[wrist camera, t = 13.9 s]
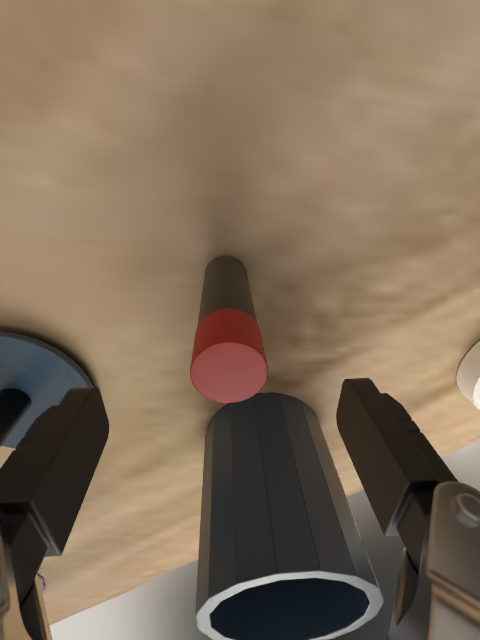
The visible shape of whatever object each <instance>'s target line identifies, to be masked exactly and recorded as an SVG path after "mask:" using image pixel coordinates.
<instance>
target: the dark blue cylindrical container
mask: <svg viewBox="0 0 480 640" xmlns="http://www.w3.org/2000/svg"><path fill="white" fill-rule="evenodd" d="M383 602H384V599H383V596H382V593H381V591H380V588H379V585H378V583H377V579H376V577H375V574H374V571H373V569H372V566H371V563H370V560H369V558H368V555H367V552H366V550H365V547H364V544H363V541H362V539H361V536H360V533H359V530H358V528H357V525H356V522H355V519H354V517H353V514H352V511H351V508H350V506H349V503H348V500H347V498H346V495H345V492H344V489H343V487H342V484H341V481H340V478H339V476H338V473H337V470H336V467H335V465H334V462H333V459H332V457H331V454H330V451H329V448H328V446H327V443H326V440H325V437H324V435H323V432H322V429H321V427H320V424H319V422H318V419H317V417H316V415H315V413H314V412H313V411H312V410H311V409H310V408H309V407H308V406H307V405H306V404H304V403H303V402H301V401H299V400H297V399H295V398H293V397H290V396H286V395H281V394H269V393H265V394H256V395H254V396H252V397H250V398H248V399H246V400H243V401H240V402H235V403H230V404H228V405H226V406H225V407H223V408H222V409H221V410H220V411H219V412H218V413H217V414H216V415H215V416H214V417H213V419H212V420H211V422H210V424H209V426H208V428H207V433H206V436H205V453H204V470H203V488H202V506H201V523H200V541H199V559H198V577H197V594H196V612H195V614H196V620H197V625H198V629H199V630H200V631H201V632H203V633H204V634H206V635H207V636H208V637H210V638H211V639H213V640H328V639H332V638H335V637H337V636H340V635H342V634H345V633H347V632H350V631H352V630H355V629H357V628H358V627H360V626H361V625H363V624H364V623H366V622H367V621H369V620H370V619H371V618H373V617H375V616H376V615H377V613H378V611H379V609H380V608H381V606H382V604H383Z"/></svg>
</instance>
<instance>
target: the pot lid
mask: <svg viewBox="0 0 480 640" xmlns="http://www.w3.org/2000/svg"><path fill="white" fill-rule="evenodd" d="M86 387H93V385H92V383H91V381H90V380H89V378H88V376H87V375H86V374H85V372H84V371H83V370H82V369H81V368H80V367H79V366H78V365H77V364H76V363H75V362H74V361H73V360H72V359H71V358H69V357H68V356H67V355H65V354H64V353H62V352H61V351H59V350H58V349H56V348H54V347H52V346H50V345H49V344H47V343H44V342H42V341H40V340H37V339H34V338H31V337H28V336H25V335H21V334H16V333H11V332H3V331H0V447H1V446H5V447H10V448H16V446H17V445H18V443H19V442H20V440H21V439H22V438H23V437H25V433H26V432H27V430H28V429H29V428H30V426H31V425H32V423H33V422H34V420H35V419H36V418H37V417H38V416H40V415H41V414H42V413H43V412H45V411H46V410H47V409H48V408H49V407H51V406H54V405H59V404H60V402H61V401H62V399H63V398H64V396H65V395H66V393H67V392H68V390H69V389H71V388H86Z"/></svg>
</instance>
